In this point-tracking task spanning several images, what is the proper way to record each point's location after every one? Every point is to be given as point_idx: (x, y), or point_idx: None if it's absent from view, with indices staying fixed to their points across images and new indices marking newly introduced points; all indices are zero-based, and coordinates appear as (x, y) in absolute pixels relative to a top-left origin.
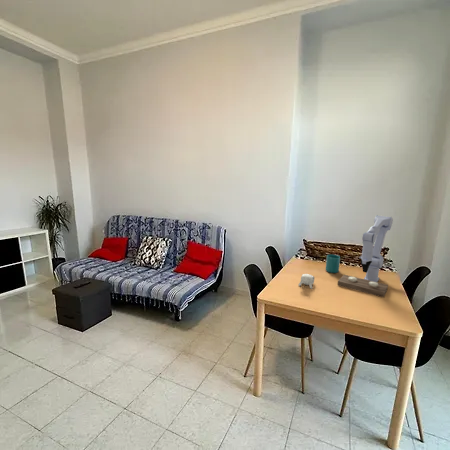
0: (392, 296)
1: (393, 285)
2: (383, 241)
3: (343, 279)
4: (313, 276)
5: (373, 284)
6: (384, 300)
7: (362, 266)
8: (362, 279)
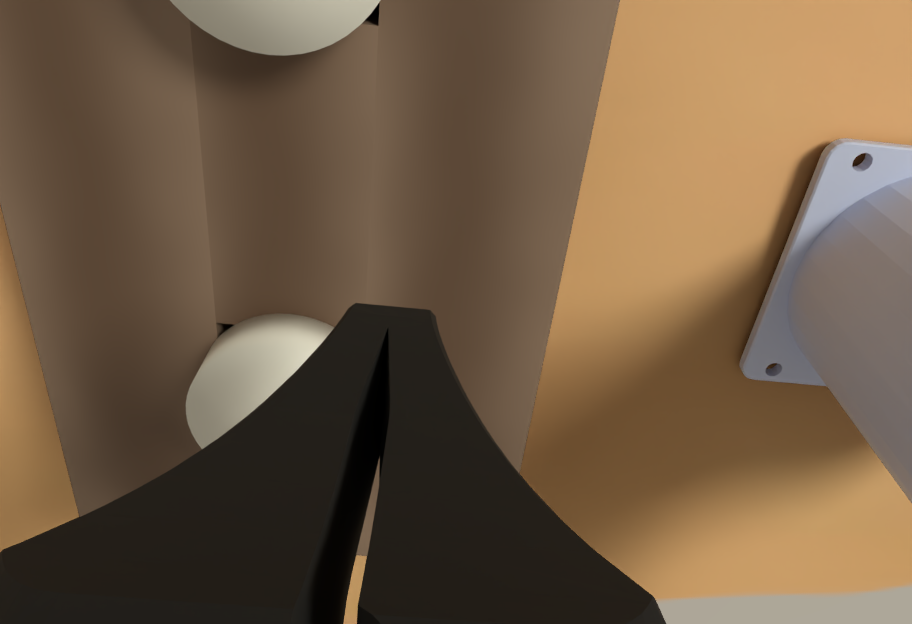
0: None
1: (720, 552)
2: None
3: None
4: None
5: (199, 423)
6: (17, 480)
7: (237, 427)
8: (535, 163)
